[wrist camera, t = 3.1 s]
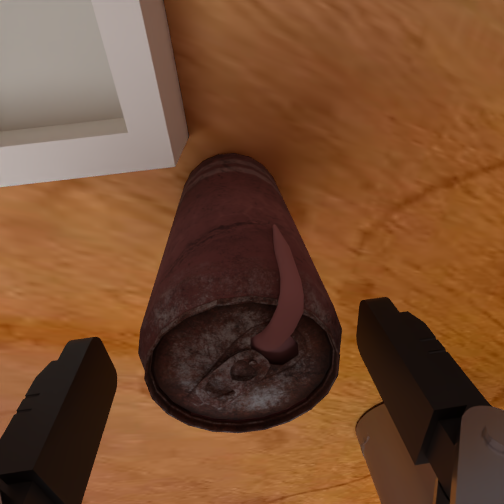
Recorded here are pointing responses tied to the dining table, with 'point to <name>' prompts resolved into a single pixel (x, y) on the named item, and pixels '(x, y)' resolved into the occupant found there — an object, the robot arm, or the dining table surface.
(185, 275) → the can
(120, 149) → the well
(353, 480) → the dining table surface
